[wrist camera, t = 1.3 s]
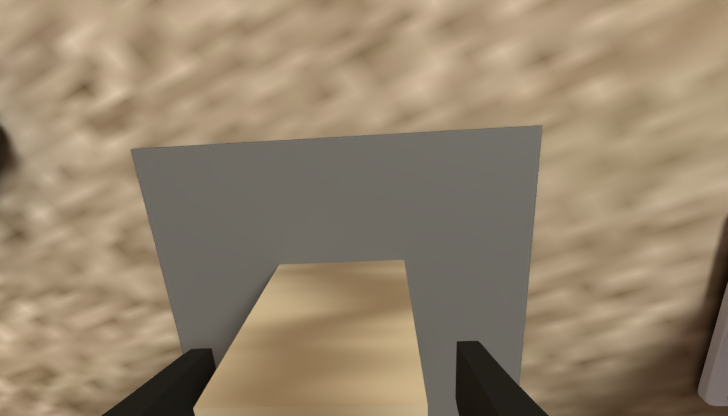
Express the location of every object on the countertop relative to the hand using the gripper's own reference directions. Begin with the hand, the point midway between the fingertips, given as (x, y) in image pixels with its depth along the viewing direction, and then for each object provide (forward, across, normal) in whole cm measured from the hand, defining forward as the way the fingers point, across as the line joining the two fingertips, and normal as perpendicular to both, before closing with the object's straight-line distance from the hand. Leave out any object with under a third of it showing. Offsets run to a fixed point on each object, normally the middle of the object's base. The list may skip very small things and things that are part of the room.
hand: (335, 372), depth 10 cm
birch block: (+3, 0, 0) cm, 3 cm away
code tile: (+3, 0, 0) cm, 3 cm away
